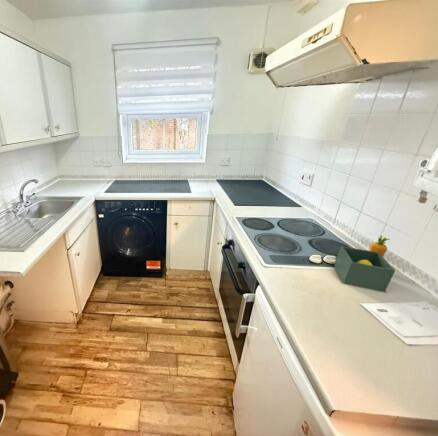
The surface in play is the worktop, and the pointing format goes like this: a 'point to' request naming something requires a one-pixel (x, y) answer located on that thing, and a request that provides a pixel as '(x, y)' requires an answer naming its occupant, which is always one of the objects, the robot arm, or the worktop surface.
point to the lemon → (365, 262)
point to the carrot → (379, 246)
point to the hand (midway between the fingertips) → (428, 206)
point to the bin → (363, 269)
